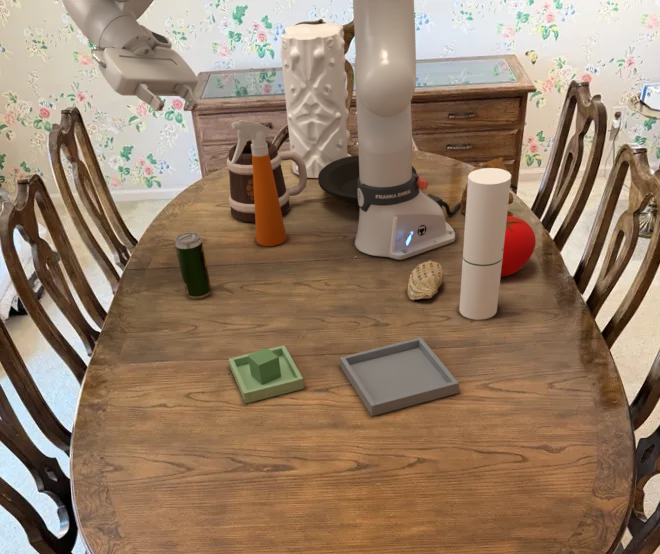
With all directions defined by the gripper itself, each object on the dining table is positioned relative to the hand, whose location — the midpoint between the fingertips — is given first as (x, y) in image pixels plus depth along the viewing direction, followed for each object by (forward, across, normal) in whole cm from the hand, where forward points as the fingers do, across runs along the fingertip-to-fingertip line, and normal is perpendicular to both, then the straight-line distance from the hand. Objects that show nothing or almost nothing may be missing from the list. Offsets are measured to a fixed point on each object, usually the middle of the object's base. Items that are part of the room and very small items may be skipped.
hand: (178, 107), depth 132 cm
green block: (+49, -16, +12) cm, 53 cm away
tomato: (+58, +35, -12) cm, 69 cm away
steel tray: (+65, -7, -2) cm, 65 cm away
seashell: (+53, +22, -4) cm, 57 cm away
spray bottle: (+17, +27, +21) cm, 39 cm away
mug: (+7, +42, +23) cm, 49 cm away
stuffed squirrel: (+45, +57, -10) cm, 73 cm away
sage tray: (+49, -16, +12) cm, 53 cm away
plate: (+21, +57, +9) cm, 61 cm away
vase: (+1, +70, +19) cm, 72 cm away
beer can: (+22, +3, +26) cm, 34 cm away
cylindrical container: (+63, +19, -10) cm, 67 cm away
